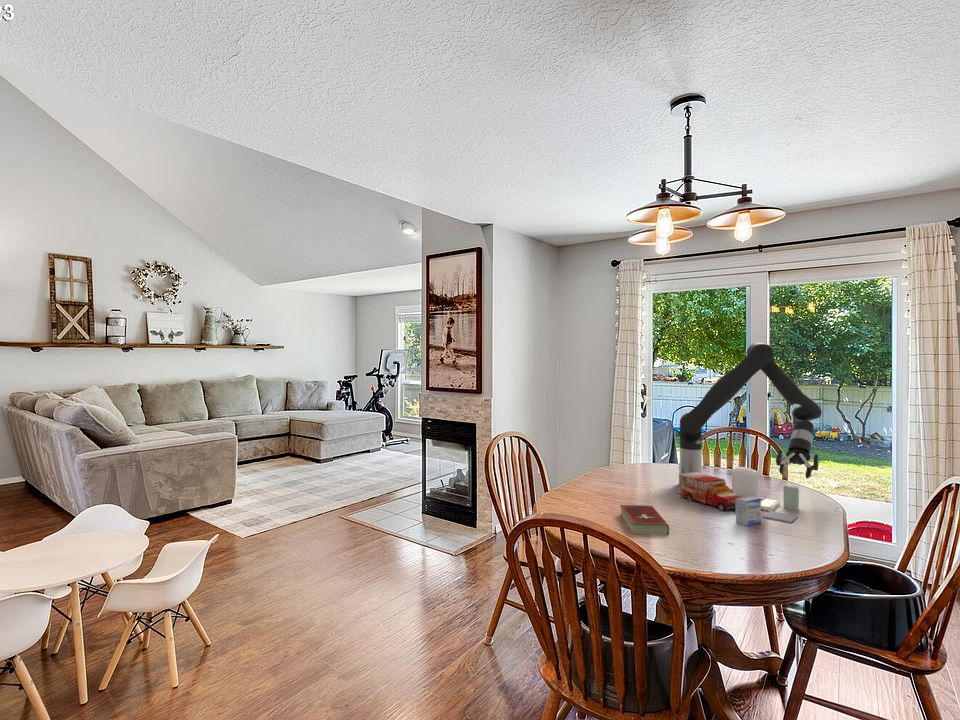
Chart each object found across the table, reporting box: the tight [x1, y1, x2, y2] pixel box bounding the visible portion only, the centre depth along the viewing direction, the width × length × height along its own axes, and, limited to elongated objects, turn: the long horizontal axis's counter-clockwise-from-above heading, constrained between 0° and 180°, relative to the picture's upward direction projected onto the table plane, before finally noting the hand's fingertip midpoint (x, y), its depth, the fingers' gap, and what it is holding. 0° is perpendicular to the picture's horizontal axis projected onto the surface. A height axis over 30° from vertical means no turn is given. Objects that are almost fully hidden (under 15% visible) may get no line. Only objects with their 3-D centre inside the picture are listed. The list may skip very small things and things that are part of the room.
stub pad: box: [762, 510, 799, 524], centre depth 181 cm, size 9×9×1 cm
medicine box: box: [735, 496, 762, 527], centre depth 175 cm, size 8×4×9 cm, turn 117°
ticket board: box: [761, 498, 781, 512], centre depth 194 cm, size 5×12×2 cm, turn 136°
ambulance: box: [677, 472, 743, 512], centre depth 200 cm, size 11×25×10 cm, turn 21°
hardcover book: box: [619, 504, 670, 536], centre depth 174 cm, size 12×21×4 cm, turn 174°
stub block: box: [783, 484, 800, 511], centre depth 193 cm, size 4×3×8 cm, turn 46°
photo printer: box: [731, 466, 760, 498], centre depth 208 cm, size 10×4×12 cm, turn 39°
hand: (794, 475), depth 196 cm, fingers open, 8 cm apart
